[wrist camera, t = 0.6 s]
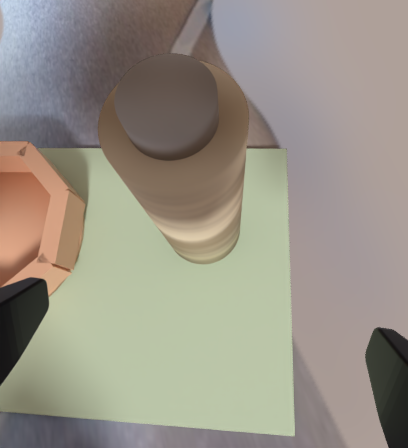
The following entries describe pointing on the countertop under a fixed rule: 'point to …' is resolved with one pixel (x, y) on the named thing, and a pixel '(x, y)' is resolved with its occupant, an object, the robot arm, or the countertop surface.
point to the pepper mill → (181, 150)
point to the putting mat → (166, 315)
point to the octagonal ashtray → (37, 218)
